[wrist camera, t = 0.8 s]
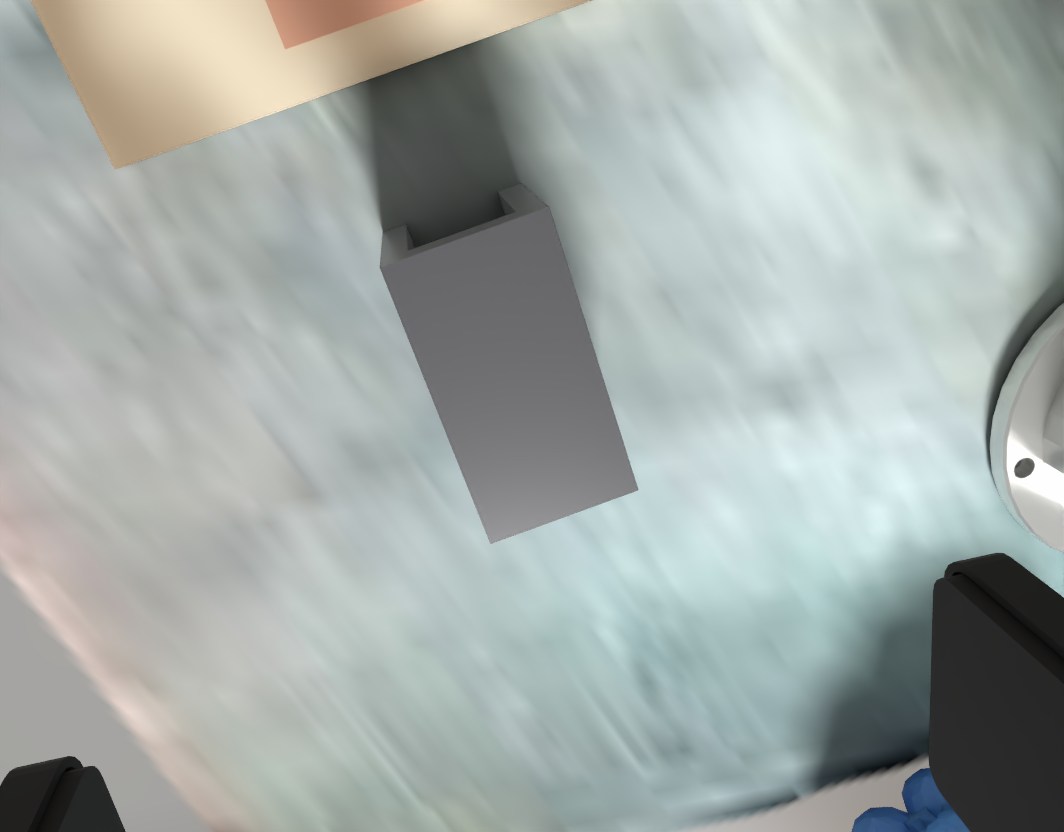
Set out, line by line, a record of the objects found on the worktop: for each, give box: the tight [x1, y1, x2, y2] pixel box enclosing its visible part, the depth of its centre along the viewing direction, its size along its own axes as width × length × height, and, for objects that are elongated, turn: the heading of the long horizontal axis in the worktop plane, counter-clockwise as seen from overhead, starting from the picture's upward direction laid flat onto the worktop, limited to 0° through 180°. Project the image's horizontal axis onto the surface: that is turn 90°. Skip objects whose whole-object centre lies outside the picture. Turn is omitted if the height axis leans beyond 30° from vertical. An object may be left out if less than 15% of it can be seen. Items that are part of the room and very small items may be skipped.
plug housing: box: [380, 183, 638, 544], centre depth 28 cm, size 5×9×6 cm, turn 18°
